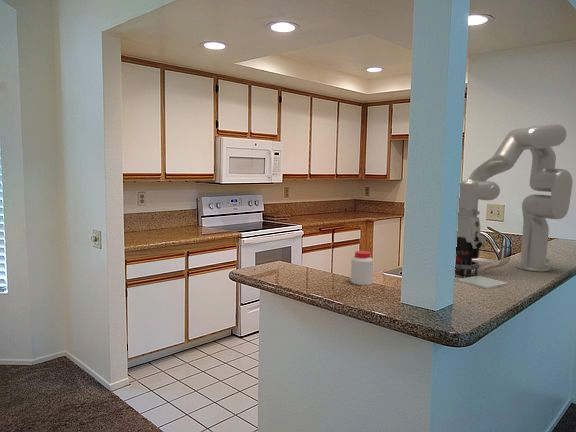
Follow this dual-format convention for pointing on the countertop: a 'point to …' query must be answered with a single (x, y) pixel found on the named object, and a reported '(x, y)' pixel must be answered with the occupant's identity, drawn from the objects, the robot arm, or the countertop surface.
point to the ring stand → (474, 266)
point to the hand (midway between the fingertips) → (463, 256)
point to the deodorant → (463, 255)
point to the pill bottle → (362, 268)
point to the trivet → (482, 282)
